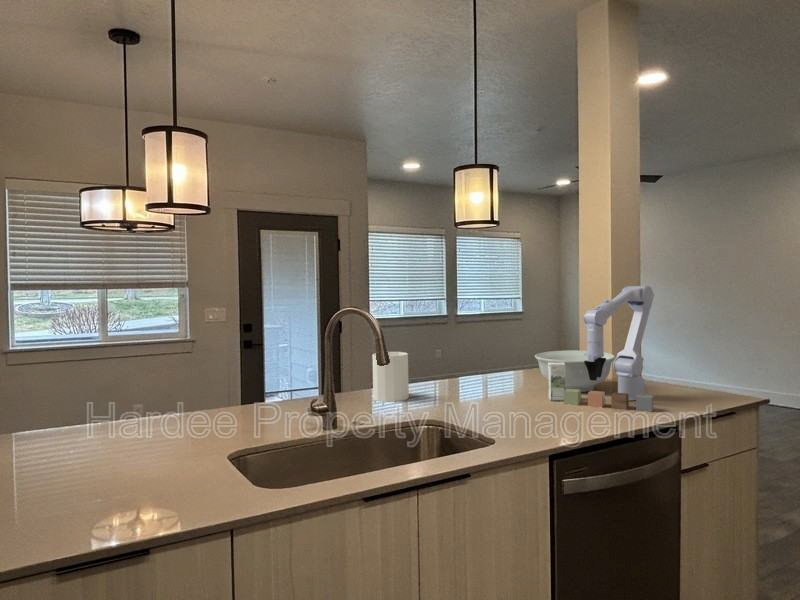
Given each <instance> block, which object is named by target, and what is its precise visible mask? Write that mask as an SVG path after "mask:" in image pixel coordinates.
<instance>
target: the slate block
mask: <svg viewBox="0 0 800 600" xmlns="http://www.w3.org/2000/svg"><path fill="white" fill-rule="evenodd" d="M635 410H637V411H636V412H644V411H647V412H646V413H653V411H654V395H652V394H645V395H641V394H638V395H637V396H636V400H635Z"/></svg>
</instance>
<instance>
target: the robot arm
mask: <svg viewBox="0 0 800 600" xmlns="http://www.w3.org/2000/svg"><path fill="white" fill-rule="evenodd" d="M654 298H655V294H654V291H653V288H652V287H651V286H650V285H634V286H633V285H626V286H625V287H624V288H622V290H621V292H620V293H618V294H617V295H616V296H615V297H614V298H612V299H603V301H602V303H600V304H599V305H596V306H595V308H593V309H588V310H586V311H585V312H584V316H583V318H582V319H583V322H584V325H585V329H586V344H587V345H586V351H587V353H584V356H587V357H588V361H587V360H585V361H584V363H585V365H586V367H587V370H588V374H589V378H590V380H594V381H596V379H597V377H601V374H602V369H603V366H604V363H605V361H606V358H601V357H604V348H605V347H604V325H606V323H607V321H608V319H609V318H610V317H612V316H614V314H616V313H617V312H618V308H620V307H621V306H623V305H624V304H626V303H627V304H628V307H629V308H630V309H632V310H633V315H632V318H631V322H630V326H629V330H628V332H627V333H628V334H627V337H626V341H625V344H624V347H623V348H624V349H622V350H620V351H619V352H617V354H616V356H615V359H614V360H613V361H612V368H613V371H614V372H615V375H617V393H628V395H629V402H630V401H636V396H637V395H638V394H641V395H646V394H645V391H646V390H645V389H646V387H645V379H644V378H643V376H641V374H642V372H643V369H644V357H643V356H642V355H641V354H640V349H641V345H642V342H643V338H644V335H645V331H646V327H647V323H648V319H649V317H650V316H649V315H650V312H651V308H652V305H653V300H654Z"/></svg>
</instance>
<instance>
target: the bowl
mask: <svg viewBox="0 0 800 600" xmlns="http://www.w3.org/2000/svg"><path fill="white" fill-rule="evenodd" d="M584 353H587V350H583V349H582V350H579V349H578V350H577V349H576V350H574V349H573V350H571V349H568V350H553V351H552V350H551V351H544V352H539V353H536V354H534V358H535V359H536V360H537V363H538V367H539V370H540V373H541V374H542V376H543V378H544V379H546V380H547V381H548V362H563V363H564V364H565V386H566V387H565V388H566V389H577V390H581V393H586V392H590V391H594V389H595V386H596V385H599V384H600V383H603V381H605V380H606V379H607V378H608V376H609V374H610V372H611V366H612V364H613V362H614V360H615V359H616V356H615V355H614V354H612V353H609V352H604V357H601V358H606V361H605V363H604V366H603V369H602V374H601V377H597V379H596V381H594V380H590V378H589V374H588V370H587V367H586V365H585V363H584V361H585V360H587V361H588V357H587V356H584Z"/></svg>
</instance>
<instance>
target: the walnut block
mask: <svg viewBox="0 0 800 600" xmlns="http://www.w3.org/2000/svg"><path fill="white" fill-rule="evenodd" d="M610 396H611V397H610V398H611V409H613V408H614V410H622V409H623V410H622V411H626V410H628V409H629V406H630V405H629V404H630V403H629V402H630V401H629V395H628V393H618V392H615V391H614V392H613V393H612V394H611V395H610ZM627 408H628V409H627Z"/></svg>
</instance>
